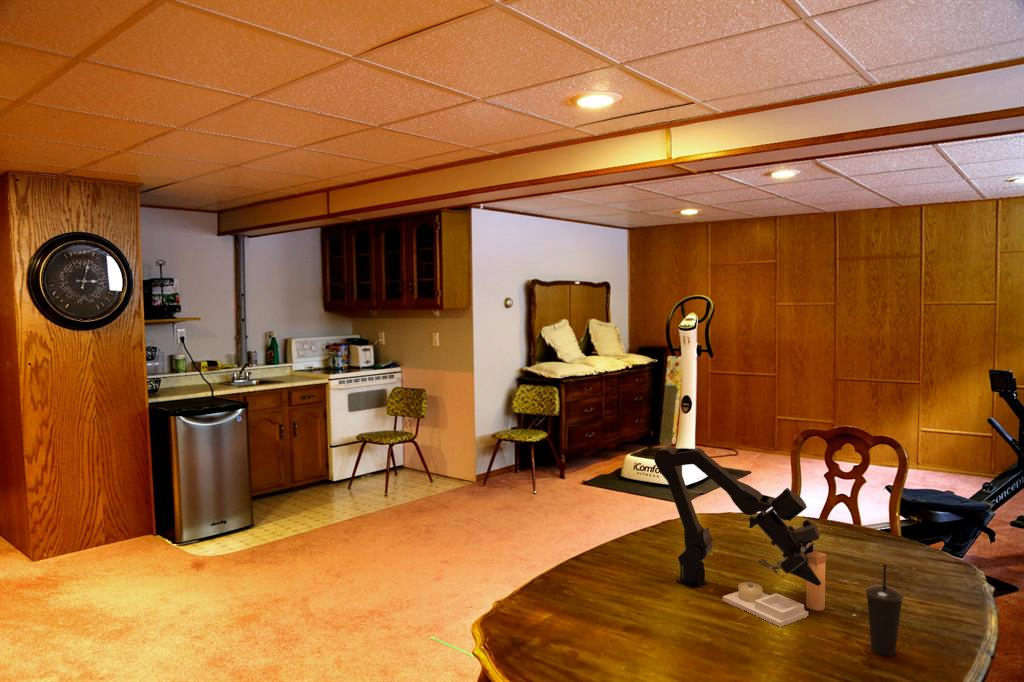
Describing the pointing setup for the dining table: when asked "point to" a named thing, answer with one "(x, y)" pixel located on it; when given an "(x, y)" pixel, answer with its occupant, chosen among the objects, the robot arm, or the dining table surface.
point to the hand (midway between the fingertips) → (821, 579)
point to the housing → (766, 604)
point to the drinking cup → (884, 616)
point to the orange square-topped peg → (814, 592)
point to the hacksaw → (773, 566)
